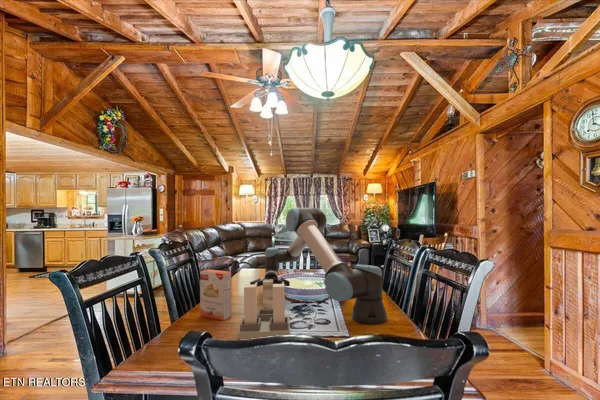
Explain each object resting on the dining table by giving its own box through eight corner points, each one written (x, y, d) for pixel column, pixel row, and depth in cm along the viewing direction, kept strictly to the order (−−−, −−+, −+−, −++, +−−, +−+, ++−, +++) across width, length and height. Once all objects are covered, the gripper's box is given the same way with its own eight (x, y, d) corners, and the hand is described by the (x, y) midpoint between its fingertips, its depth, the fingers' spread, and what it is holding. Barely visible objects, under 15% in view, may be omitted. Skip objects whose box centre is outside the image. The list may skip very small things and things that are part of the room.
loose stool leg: (264, 314, 147) (263, 279, 147) (273, 314, 147) (273, 279, 147) (263, 317, 142) (262, 281, 143) (273, 317, 142) (272, 281, 143)
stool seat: (245, 322, 136) (244, 278, 137) (289, 321, 137) (288, 277, 138) (238, 340, 117) (238, 289, 118) (289, 338, 118) (289, 287, 119)
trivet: (326, 290, 189) (326, 287, 189) (332, 303, 164) (332, 299, 164) (285, 291, 188) (285, 288, 188) (284, 304, 163) (284, 300, 163)
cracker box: (199, 317, 144) (199, 271, 145) (208, 313, 150) (208, 268, 150) (223, 321, 138) (222, 273, 138) (232, 317, 143) (231, 271, 144)
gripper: (293, 284, 176) (294, 295, 155) (248, 285, 175) (243, 296, 154) (293, 271, 177) (294, 279, 155) (248, 272, 176) (243, 280, 154)
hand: (269, 288), depth 155 cm, fingers open, 13 cm apart
